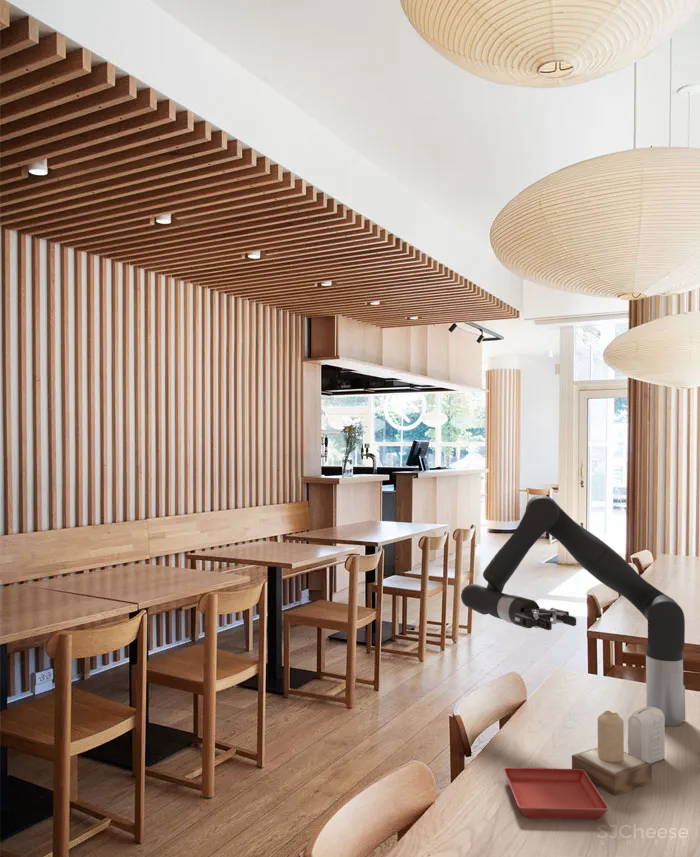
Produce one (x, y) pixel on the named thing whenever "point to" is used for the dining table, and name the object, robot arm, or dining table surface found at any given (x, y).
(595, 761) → the stand
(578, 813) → the plant saucer
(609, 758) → the candle
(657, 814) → the dining table surface
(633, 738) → the photo printer
